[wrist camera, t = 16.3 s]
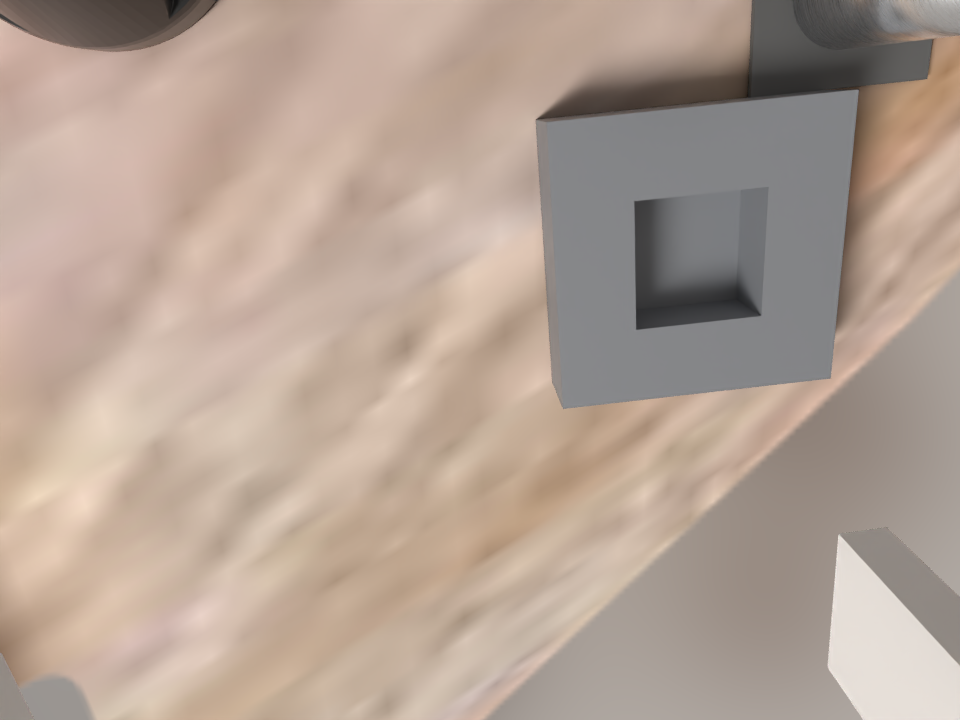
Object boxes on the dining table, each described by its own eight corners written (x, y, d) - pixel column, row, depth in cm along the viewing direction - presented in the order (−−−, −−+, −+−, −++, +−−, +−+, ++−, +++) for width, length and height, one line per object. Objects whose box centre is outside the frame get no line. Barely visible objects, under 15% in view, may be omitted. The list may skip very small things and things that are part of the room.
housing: (535, 119, 38) (546, 122, 34) (818, 90, 38) (858, 89, 35) (552, 382, 44) (563, 408, 40) (797, 354, 44) (830, 378, 41)
